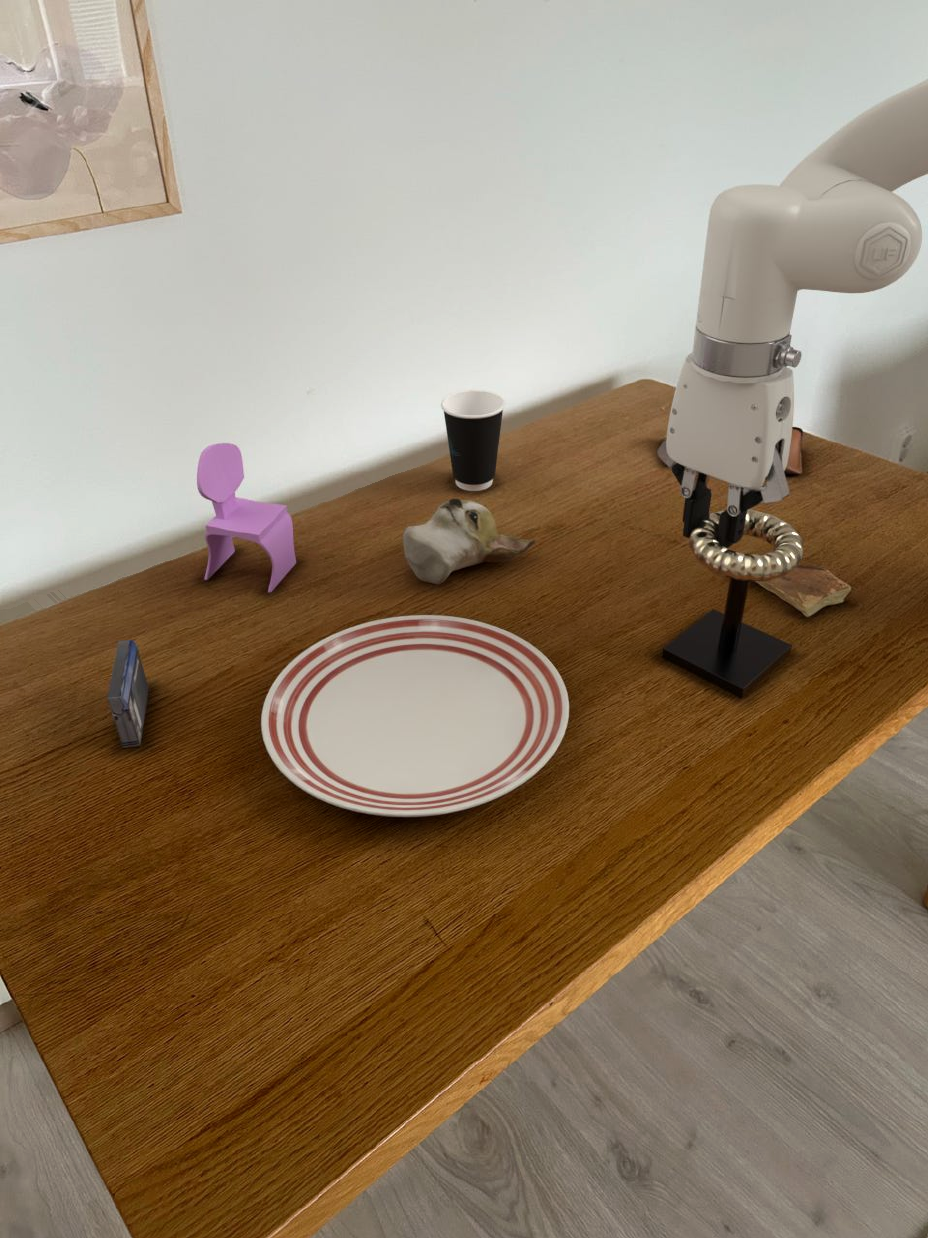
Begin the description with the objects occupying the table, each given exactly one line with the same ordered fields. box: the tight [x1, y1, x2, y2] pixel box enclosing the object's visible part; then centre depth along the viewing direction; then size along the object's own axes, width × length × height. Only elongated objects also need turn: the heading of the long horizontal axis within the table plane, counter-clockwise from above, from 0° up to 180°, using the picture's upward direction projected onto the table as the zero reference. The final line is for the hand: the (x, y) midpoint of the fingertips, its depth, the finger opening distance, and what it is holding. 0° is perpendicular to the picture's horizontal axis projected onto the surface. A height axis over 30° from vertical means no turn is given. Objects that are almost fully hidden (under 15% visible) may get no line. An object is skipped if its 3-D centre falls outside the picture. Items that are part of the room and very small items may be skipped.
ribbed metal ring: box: [688, 509, 804, 582], centre depth 89 cm, size 10×10×2 cm
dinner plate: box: [260, 614, 570, 818], centre depth 89 cm, size 28×27×3 cm
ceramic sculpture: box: [402, 498, 536, 585], centre depth 109 cm, size 11×9×15 cm
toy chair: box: [196, 442, 297, 593], centre depth 106 cm, size 8×9×15 cm
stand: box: [661, 578, 793, 699], centre depth 94 cm, size 9×9×10 cm
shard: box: [754, 564, 852, 618], centre depth 106 cm, size 11×8×2 cm
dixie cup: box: [440, 389, 507, 492], centre depth 123 cm, size 8×8×11 cm
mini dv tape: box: [107, 639, 150, 749], centre depth 89 cm, size 8×2×6 cm, turn 9°
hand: (710, 536), depth 92 cm, fingers closed on ribbed metal ring, 2 cm apart
